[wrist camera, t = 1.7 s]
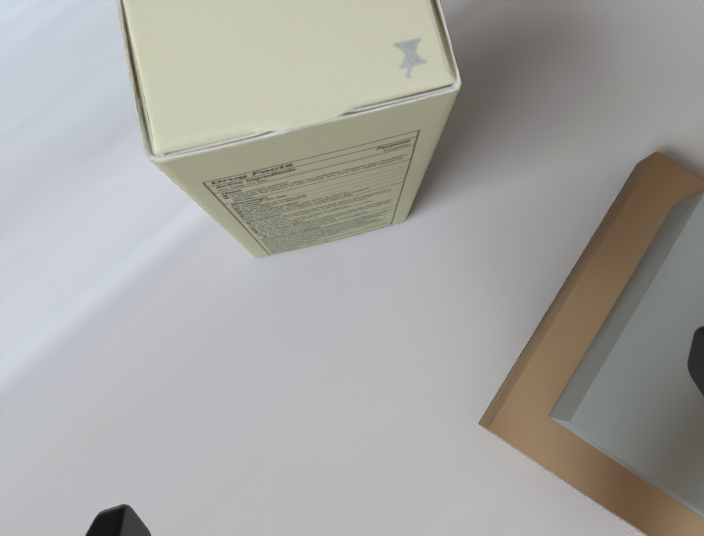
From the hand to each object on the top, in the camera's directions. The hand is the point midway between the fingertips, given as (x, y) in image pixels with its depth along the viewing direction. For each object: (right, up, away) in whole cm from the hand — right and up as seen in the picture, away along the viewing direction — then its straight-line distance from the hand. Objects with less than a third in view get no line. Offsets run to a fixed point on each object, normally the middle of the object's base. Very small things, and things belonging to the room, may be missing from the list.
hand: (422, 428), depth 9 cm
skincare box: (-3, +5, +14) cm, 16 cm away
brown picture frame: (+12, -2, +14) cm, 18 cm away
